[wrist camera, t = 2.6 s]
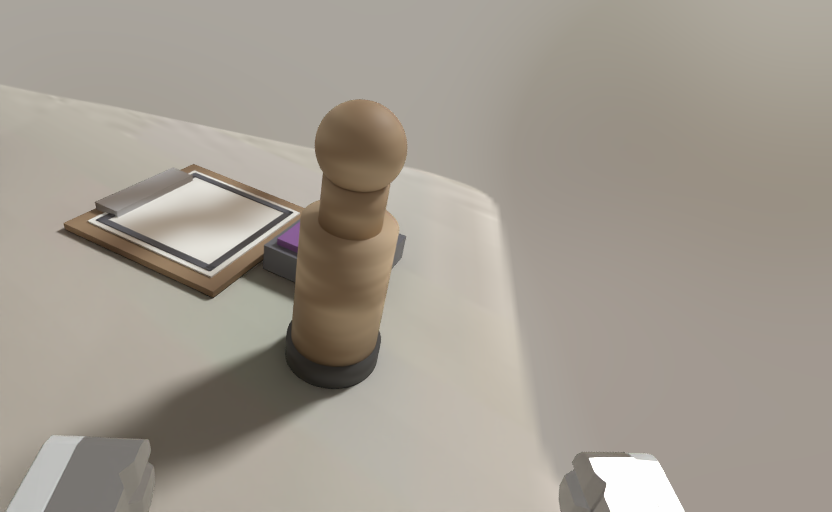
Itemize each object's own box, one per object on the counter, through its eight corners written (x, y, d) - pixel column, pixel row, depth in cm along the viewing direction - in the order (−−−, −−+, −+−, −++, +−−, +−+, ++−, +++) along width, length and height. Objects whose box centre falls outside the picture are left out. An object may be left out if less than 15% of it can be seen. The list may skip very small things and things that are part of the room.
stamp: (266, 362, 24) (278, 98, 17) (316, 310, 28) (343, 73, 21) (350, 403, 23) (398, 140, 16) (391, 343, 27) (445, 106, 20)
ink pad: (263, 268, 30) (264, 239, 29) (319, 224, 35) (321, 197, 34) (356, 309, 29) (361, 280, 27) (401, 257, 33) (407, 230, 32)
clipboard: (64, 229, 29) (61, 215, 29) (193, 169, 37) (193, 157, 37) (213, 297, 27) (212, 284, 27) (316, 218, 35) (317, 206, 35)
